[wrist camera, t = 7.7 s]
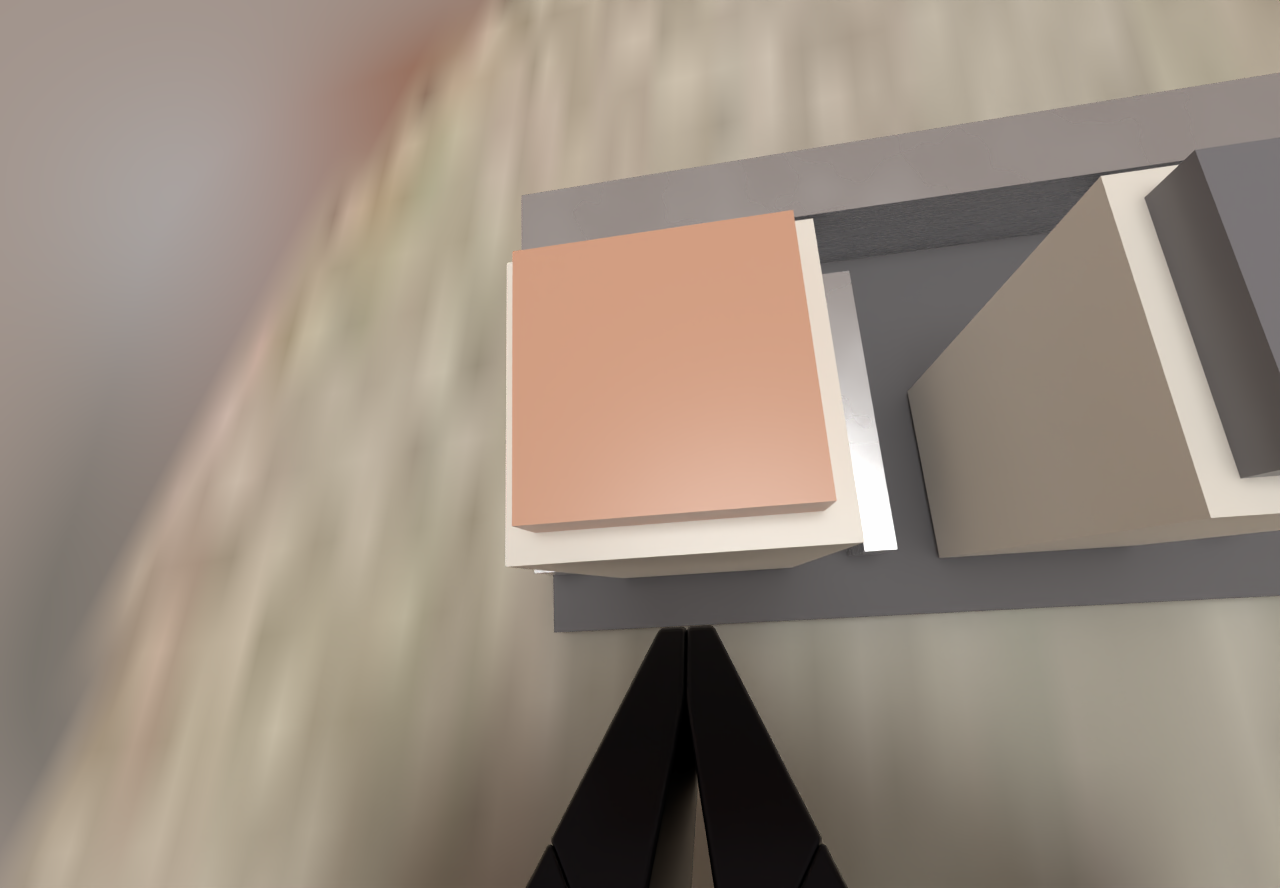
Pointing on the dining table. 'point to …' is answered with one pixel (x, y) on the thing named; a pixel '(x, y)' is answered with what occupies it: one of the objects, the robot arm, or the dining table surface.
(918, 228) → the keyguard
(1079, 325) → the key
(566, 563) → the key
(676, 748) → the robot arm
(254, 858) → the dining table surface
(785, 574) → the key mat
